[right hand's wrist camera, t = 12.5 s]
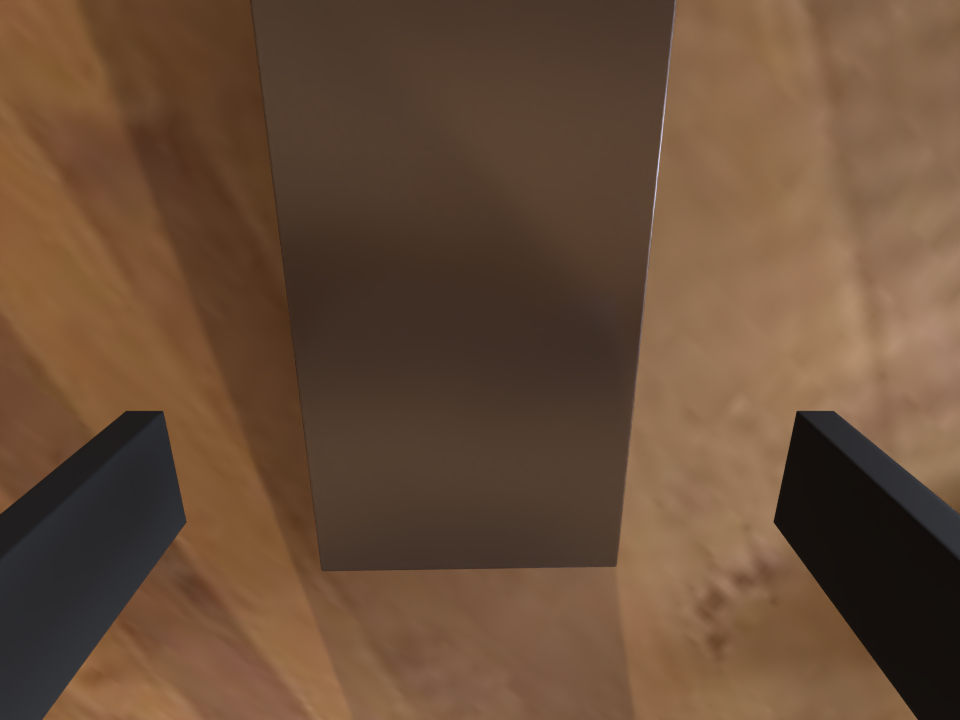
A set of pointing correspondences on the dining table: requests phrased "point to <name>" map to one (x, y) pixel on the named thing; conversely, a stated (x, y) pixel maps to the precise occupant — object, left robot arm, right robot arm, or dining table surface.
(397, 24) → the wide beam
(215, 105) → the dining table surface
